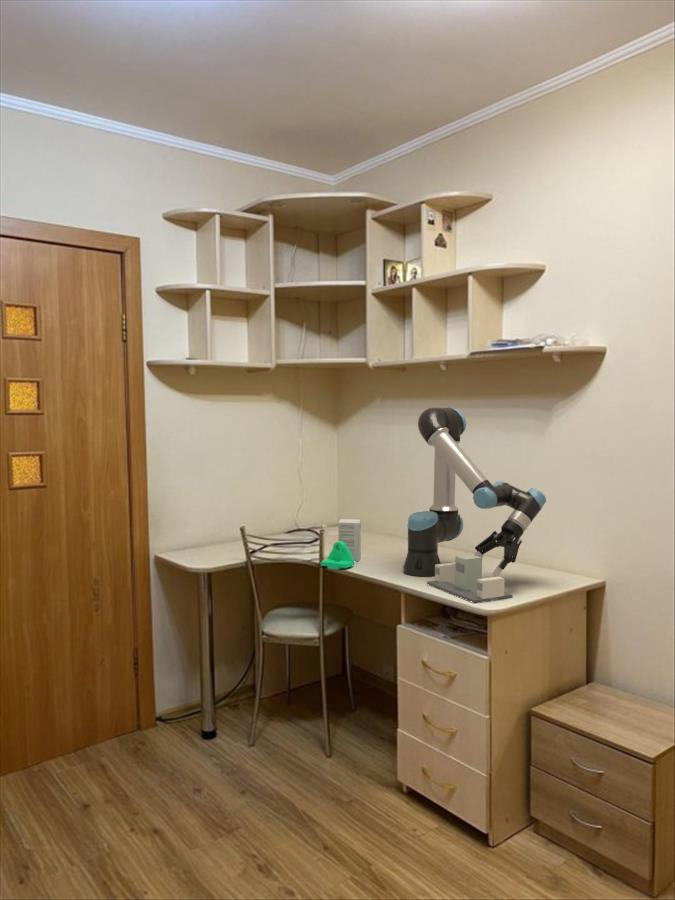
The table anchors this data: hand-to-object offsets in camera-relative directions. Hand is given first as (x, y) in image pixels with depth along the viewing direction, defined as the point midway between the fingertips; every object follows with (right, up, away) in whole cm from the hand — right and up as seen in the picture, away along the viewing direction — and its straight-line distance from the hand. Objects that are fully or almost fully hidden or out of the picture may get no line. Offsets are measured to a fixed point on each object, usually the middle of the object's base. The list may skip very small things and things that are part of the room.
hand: (481, 571), depth 243 cm
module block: (-5, -6, -1) cm, 8 cm away
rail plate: (-5, -7, -1) cm, 8 cm away
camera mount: (-51, -5, +37) cm, 63 cm away
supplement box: (-46, -4, +51) cm, 69 cm away
